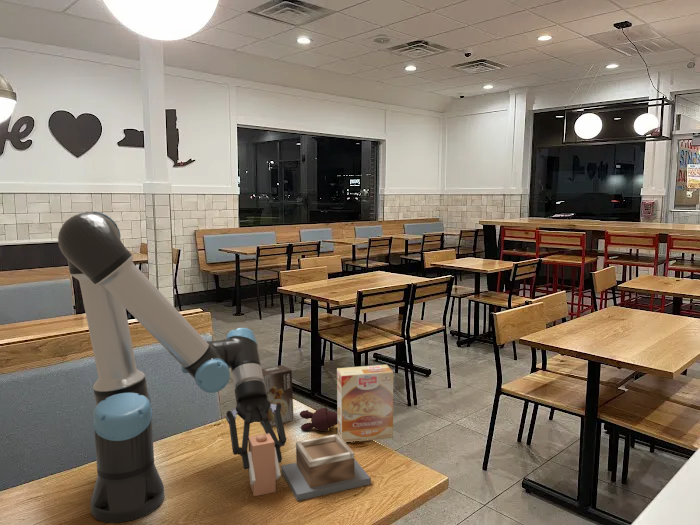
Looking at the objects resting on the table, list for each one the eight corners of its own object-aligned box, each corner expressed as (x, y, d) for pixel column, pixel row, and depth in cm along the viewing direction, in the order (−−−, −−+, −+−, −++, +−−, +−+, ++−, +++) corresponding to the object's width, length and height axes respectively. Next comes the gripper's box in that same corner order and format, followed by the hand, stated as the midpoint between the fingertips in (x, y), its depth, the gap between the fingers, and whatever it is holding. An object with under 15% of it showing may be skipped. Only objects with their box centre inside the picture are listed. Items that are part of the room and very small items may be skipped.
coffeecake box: (341, 444, 145) (340, 375, 142) (336, 433, 151) (336, 367, 149) (394, 438, 148) (394, 371, 145) (386, 427, 155) (386, 363, 152)
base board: (297, 501, 117) (297, 494, 117) (281, 471, 130) (281, 465, 130) (370, 484, 124) (370, 478, 124) (348, 457, 137) (348, 451, 137)
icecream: (350, 403, 157) (301, 407, 158) (349, 407, 149) (296, 410, 150) (352, 427, 156) (302, 431, 157) (351, 432, 148) (298, 435, 149)
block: (254, 496, 119) (252, 442, 118) (249, 485, 124) (248, 433, 122) (275, 491, 121) (274, 438, 120) (270, 481, 126) (269, 430, 124)
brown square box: (310, 487, 120) (309, 462, 119) (296, 465, 130) (296, 441, 129) (354, 478, 124) (354, 453, 123) (338, 457, 134) (337, 433, 133)
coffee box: (284, 413, 165) (283, 364, 163) (294, 420, 160) (292, 369, 158) (257, 420, 160) (255, 369, 158) (266, 428, 155) (264, 375, 153)
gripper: (282, 387, 138) (301, 477, 125) (211, 397, 131) (223, 493, 118) (286, 374, 132) (307, 466, 119) (213, 384, 126) (226, 482, 113)
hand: (265, 479), depth 119 cm, fingers closed on block, 5 cm apart
